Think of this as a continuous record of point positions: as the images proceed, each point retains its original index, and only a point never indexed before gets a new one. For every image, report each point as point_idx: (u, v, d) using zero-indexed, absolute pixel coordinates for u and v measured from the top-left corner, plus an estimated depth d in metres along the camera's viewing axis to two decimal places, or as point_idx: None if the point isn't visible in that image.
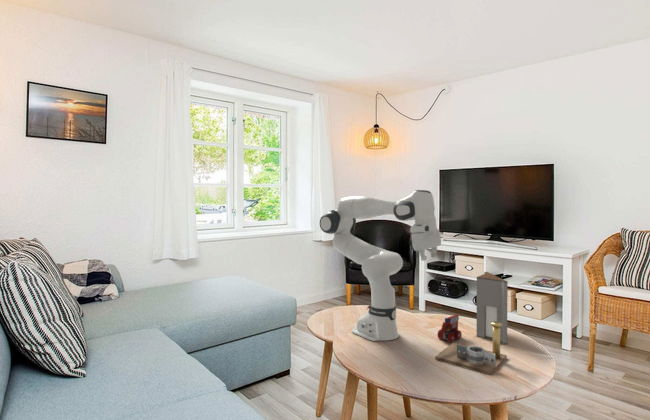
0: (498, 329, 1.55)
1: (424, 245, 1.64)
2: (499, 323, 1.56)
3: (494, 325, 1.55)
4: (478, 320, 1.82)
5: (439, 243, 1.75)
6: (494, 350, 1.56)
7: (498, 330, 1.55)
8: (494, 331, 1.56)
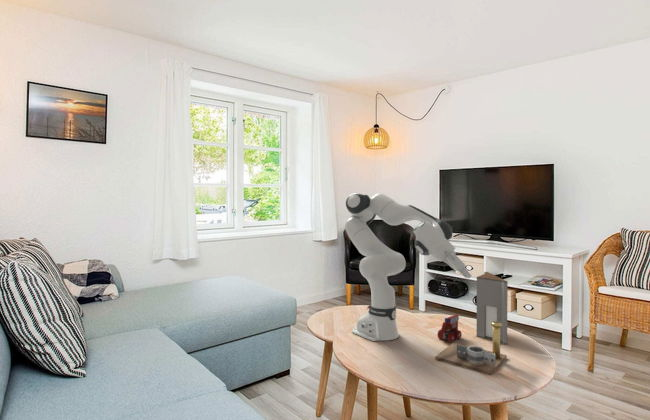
0: (498, 329, 1.55)
1: (453, 267, 1.73)
2: (499, 323, 1.56)
3: (494, 325, 1.55)
4: (478, 320, 1.82)
5: None
6: (494, 350, 1.56)
7: (498, 330, 1.55)
8: (494, 331, 1.56)
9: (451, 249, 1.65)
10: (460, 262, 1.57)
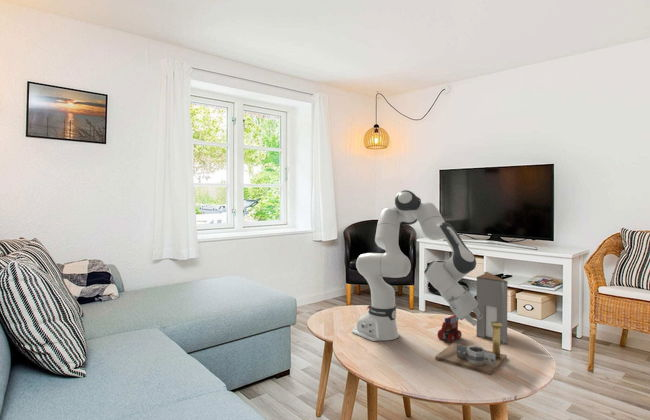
0: (498, 329, 1.55)
1: None
2: (499, 323, 1.56)
3: (494, 325, 1.55)
4: (478, 320, 1.82)
5: None
6: (494, 350, 1.56)
7: (498, 330, 1.55)
8: (494, 331, 1.56)
9: (457, 294, 1.62)
10: (461, 312, 1.55)
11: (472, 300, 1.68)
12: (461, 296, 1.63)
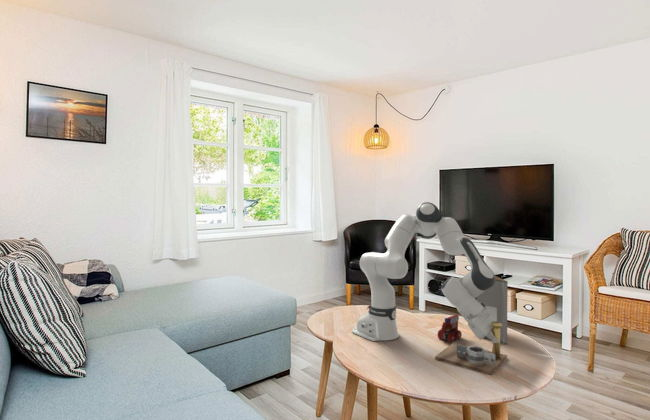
0: (498, 329, 1.55)
1: None
2: (499, 323, 1.56)
3: (494, 325, 1.55)
4: None
5: None
6: (494, 350, 1.56)
7: (498, 330, 1.55)
8: (494, 331, 1.56)
9: (476, 312, 1.57)
10: (480, 331, 1.50)
11: (491, 317, 1.64)
12: (480, 314, 1.58)
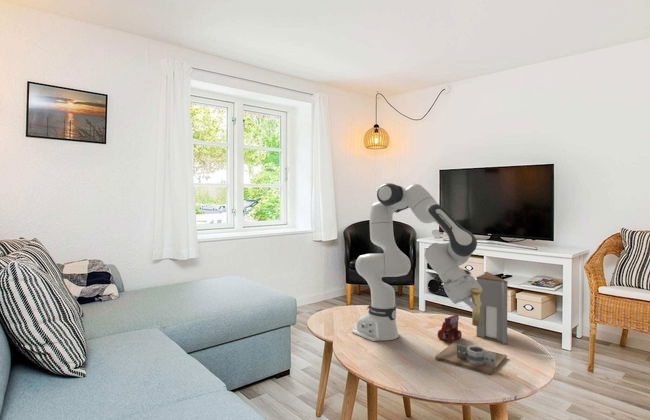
0: (477, 295, 1.51)
1: None
2: (479, 289, 1.51)
3: (473, 291, 1.51)
4: None
5: None
6: (473, 317, 1.52)
7: (477, 296, 1.51)
8: (473, 297, 1.52)
9: (455, 277, 1.54)
10: (454, 295, 1.48)
11: (475, 285, 1.59)
12: (459, 280, 1.55)
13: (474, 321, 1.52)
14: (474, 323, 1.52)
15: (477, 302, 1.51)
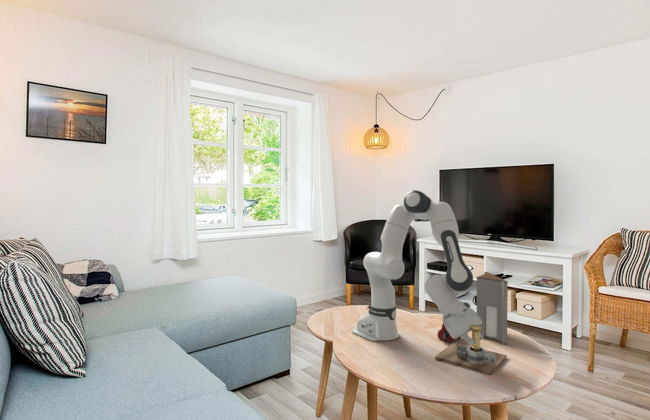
0: (477, 332, 1.52)
1: None
2: (478, 326, 1.52)
3: (472, 328, 1.52)
4: None
5: None
6: None
7: (477, 333, 1.52)
8: (473, 334, 1.52)
9: (455, 311, 1.55)
10: (454, 331, 1.48)
11: (474, 318, 1.60)
12: (459, 314, 1.55)
13: None
14: None
15: (477, 339, 1.52)
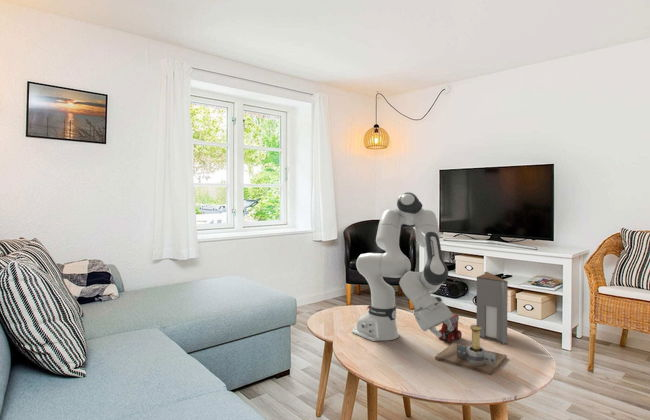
0: (477, 333, 1.51)
1: None
2: (478, 327, 1.52)
3: (472, 328, 1.52)
4: (478, 320, 1.82)
5: None
6: None
7: (477, 334, 1.51)
8: (473, 335, 1.52)
9: (425, 305, 1.64)
10: (424, 323, 1.58)
11: (445, 312, 1.69)
12: (430, 307, 1.65)
13: None
14: None
15: (477, 340, 1.52)
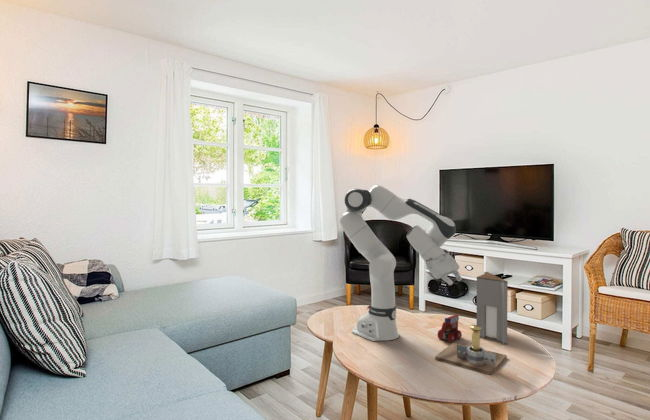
0: (477, 333, 1.51)
1: None
2: (478, 327, 1.52)
3: (472, 328, 1.52)
4: (478, 320, 1.82)
5: None
6: None
7: (477, 334, 1.51)
8: (473, 335, 1.52)
9: (436, 255, 1.68)
10: (436, 271, 1.61)
11: (453, 263, 1.74)
12: (440, 258, 1.69)
13: None
14: None
15: (477, 340, 1.52)
